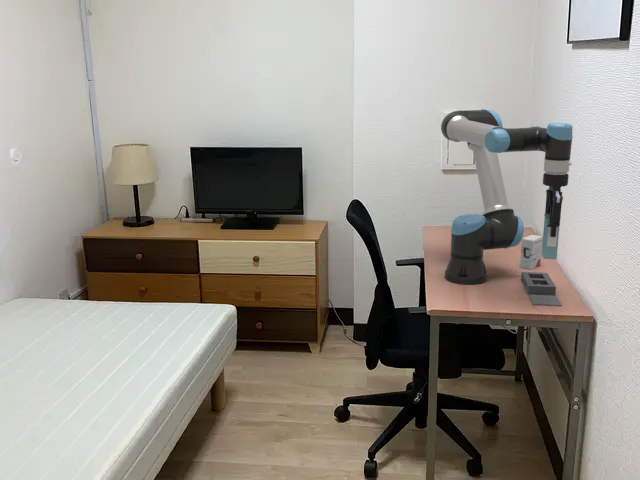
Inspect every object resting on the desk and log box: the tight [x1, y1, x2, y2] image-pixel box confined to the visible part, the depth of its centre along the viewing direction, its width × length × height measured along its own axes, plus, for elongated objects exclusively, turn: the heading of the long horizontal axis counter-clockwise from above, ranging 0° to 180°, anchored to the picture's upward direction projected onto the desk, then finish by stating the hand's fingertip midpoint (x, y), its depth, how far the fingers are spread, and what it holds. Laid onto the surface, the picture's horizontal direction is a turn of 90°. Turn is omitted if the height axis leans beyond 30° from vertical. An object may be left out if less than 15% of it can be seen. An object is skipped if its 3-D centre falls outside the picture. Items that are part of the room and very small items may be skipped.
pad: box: [528, 294, 563, 307], centre depth 211 cm, size 9×9×1 cm
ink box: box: [519, 234, 543, 270], centre depth 248 cm, size 9×5×12 cm, turn 137°
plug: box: [541, 213, 562, 260], centre depth 206 cm, size 4×4×14 cm
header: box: [520, 271, 557, 296], centre depth 225 cm, size 16×9×3 cm, turn 171°
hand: (550, 244), depth 207 cm, fingers closed on plug, 4 cm apart
